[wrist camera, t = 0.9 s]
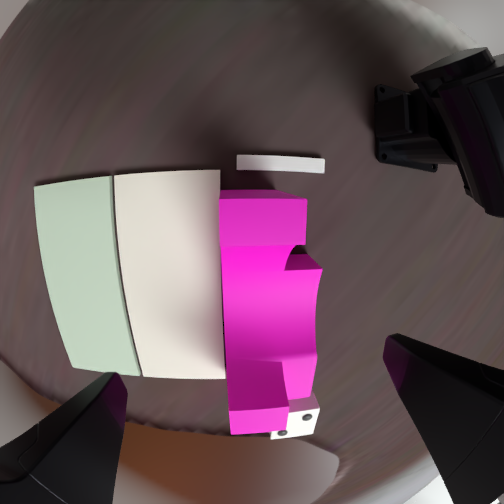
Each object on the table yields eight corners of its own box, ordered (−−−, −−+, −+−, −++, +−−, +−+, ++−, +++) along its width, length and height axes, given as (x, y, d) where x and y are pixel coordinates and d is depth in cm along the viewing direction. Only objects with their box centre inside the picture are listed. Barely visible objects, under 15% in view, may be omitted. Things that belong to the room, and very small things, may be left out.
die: (308, 379, 24) (320, 409, 20) (302, 405, 25) (312, 434, 21) (266, 383, 23) (273, 415, 19) (264, 410, 24) (271, 440, 20)
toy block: (296, 363, 23) (320, 424, 16) (227, 368, 22) (231, 434, 15) (309, 190, 19) (358, 201, 12) (220, 189, 18) (218, 199, 11)
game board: (322, 159, 18) (324, 159, 18) (302, 377, 23) (303, 380, 23) (37, 174, 16) (33, 174, 15) (77, 371, 21) (76, 374, 21)
